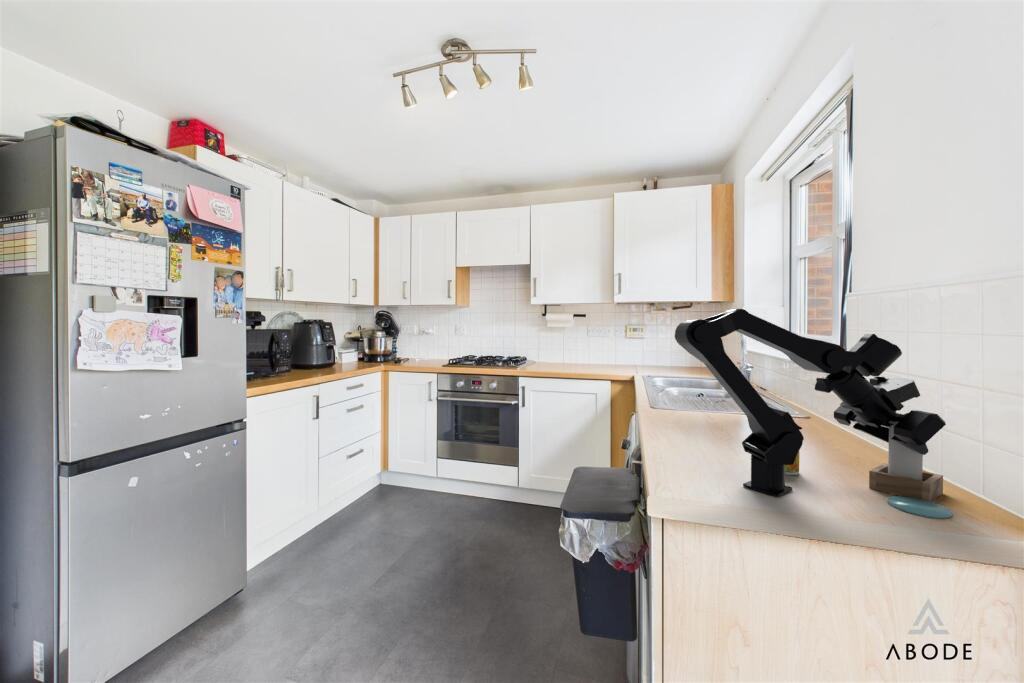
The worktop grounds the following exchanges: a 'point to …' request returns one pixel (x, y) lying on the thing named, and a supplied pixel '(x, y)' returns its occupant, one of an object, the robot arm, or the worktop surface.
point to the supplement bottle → (793, 467)
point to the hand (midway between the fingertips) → (912, 449)
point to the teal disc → (919, 507)
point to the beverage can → (903, 459)
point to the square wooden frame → (906, 484)
